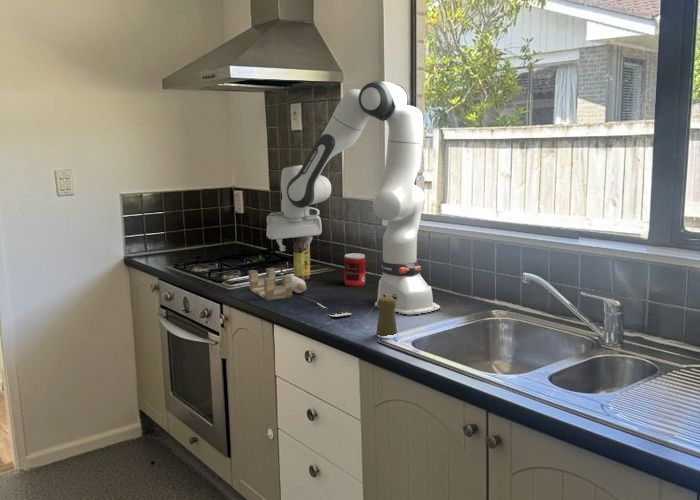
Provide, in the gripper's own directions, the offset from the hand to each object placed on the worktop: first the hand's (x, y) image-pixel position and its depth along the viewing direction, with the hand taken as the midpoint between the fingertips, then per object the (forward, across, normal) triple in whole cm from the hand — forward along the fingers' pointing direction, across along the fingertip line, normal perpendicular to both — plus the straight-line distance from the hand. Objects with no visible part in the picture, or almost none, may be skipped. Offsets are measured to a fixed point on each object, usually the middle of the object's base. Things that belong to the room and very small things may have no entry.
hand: (294, 249), depth 239 cm
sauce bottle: (+15, +9, +14) cm, 22 cm away
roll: (+15, 0, 0) cm, 15 cm away
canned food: (+15, +22, -4) cm, 27 cm away
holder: (+15, -10, 0) cm, 18 cm away
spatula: (+15, -2, -26) cm, 30 cm away
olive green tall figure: (+14, 0, -61) cm, 63 cm away
